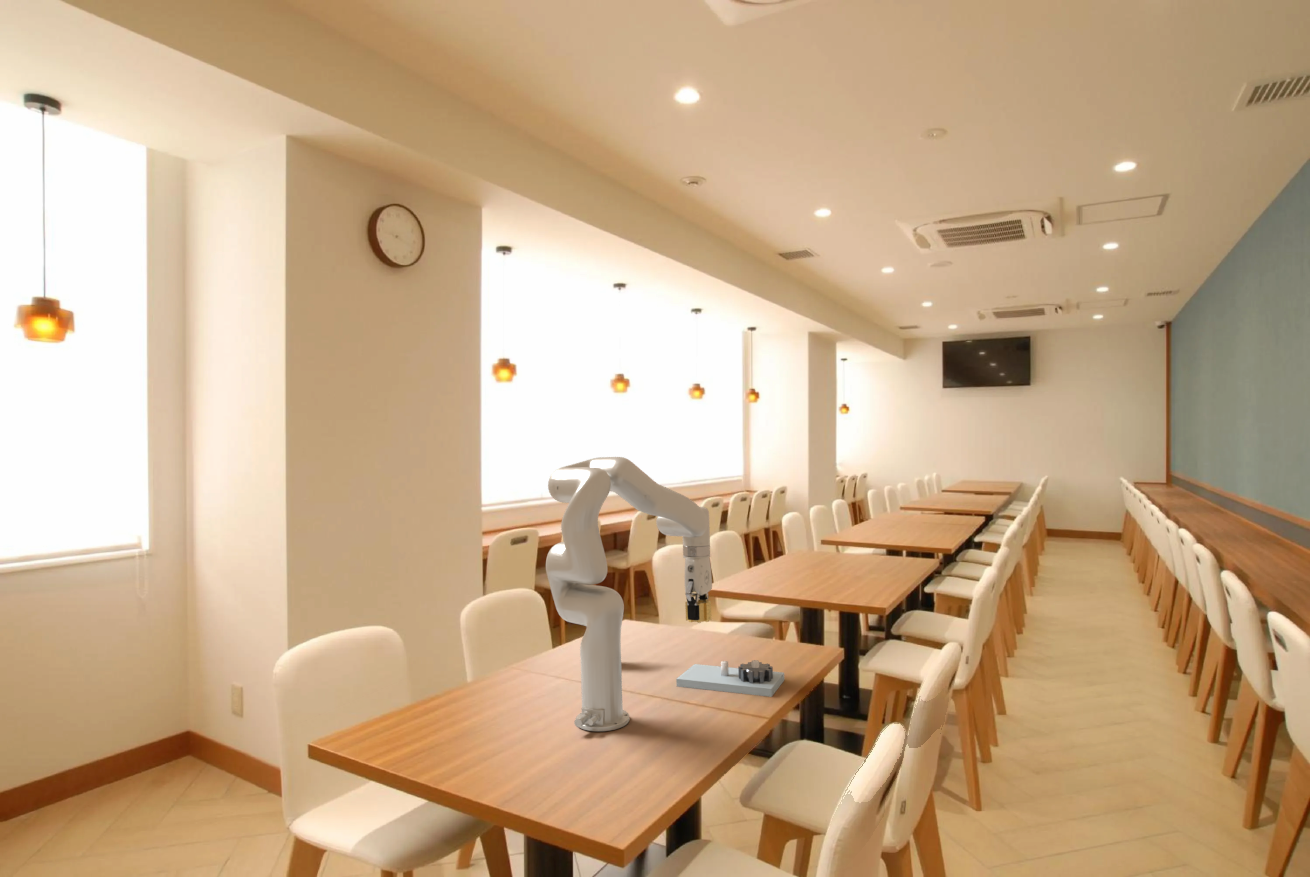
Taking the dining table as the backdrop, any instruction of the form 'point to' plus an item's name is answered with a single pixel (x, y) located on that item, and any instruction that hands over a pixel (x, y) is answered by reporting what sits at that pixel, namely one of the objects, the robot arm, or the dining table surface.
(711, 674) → the board
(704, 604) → the brass gear
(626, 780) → the dining table surface
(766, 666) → the steel gear
